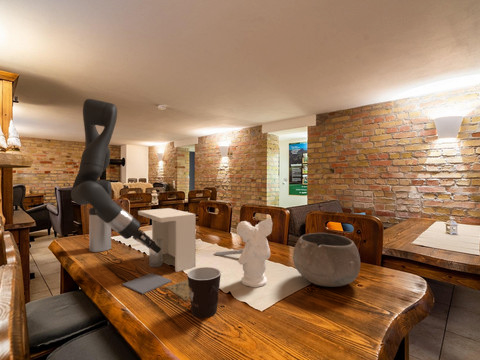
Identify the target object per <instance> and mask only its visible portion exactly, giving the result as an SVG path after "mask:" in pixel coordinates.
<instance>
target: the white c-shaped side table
mask: <svg viewBox="0 0 480 360" xmlns="http://www.w3.org/2000/svg"><path fill="white" fill-rule="evenodd" d="M137 214H138V216H141V217H144V218H147V219H150V220H151V239H156V238H160V239H163V255H167V254H168V255H169V256H171V257H174V271H175V272H176V273H177V272H182V271H185V270H189V269H192V268H196V261H197V259H196V252H197V251H196V246H197V245H196V241H197V240H196V239H197V237H196V224H197V223H196V213H192V212H188V211H183V210H179V209H178V210H177V209H175V208H170V207H167V208H156V209H146V210H145V209H143V210H137Z"/></svg>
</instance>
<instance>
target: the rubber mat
mask: <svg viewBox="0 0 480 360" xmlns="http://www.w3.org/2000/svg"><path fill="white" fill-rule="evenodd" d="M172 281H173V280H172V279H170V278H167V277H164V276H162V275H158V274H155V273H153V272H150V273H148V274H145V275H143V276H140V277H137V278H134V279H132V280H129V281H126V282H123V283H122V284H121V285H122V286H123V287H126V288H128V289H130V290H132V291H134V292H136V293H139V294H141V295H144V294H146V293H149V292H150V291H153V290H155V289H158V288H160V287H162V286H165V285H167V284H169V283H171V282H172Z"/></svg>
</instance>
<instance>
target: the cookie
mask: <svg viewBox="0 0 480 360" xmlns="http://www.w3.org/2000/svg"><path fill="white" fill-rule="evenodd" d="M164 288H165V289H166V290H168V291H170V292H171V293H172V294H174V295H176V297H178V298H180V299H181V300H183V301H189V300H190V292H189V283H188V278H187V279H186V280H182V281H179V282H176V283H172V284H171V285H167V286H165V287H164Z"/></svg>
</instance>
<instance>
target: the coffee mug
mask: <svg viewBox="0 0 480 360" xmlns="http://www.w3.org/2000/svg"><path fill="white" fill-rule="evenodd" d="M186 275H187V279H188V283H189V292H190V299H189V300H190V308H191V314H192V316H193V317H195V318H198V319H208V318H210V317H211V318H212V317H213V316H215V315H216V313H217V309H218V301H219V294H220V285H221V277H222V272H221V270H220V269H219V268H215V267H211V266H210V267H209V266H203V267H197V268H196V267H195V268H194V269H191V270H189V271H188V272H187V273H186Z"/></svg>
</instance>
